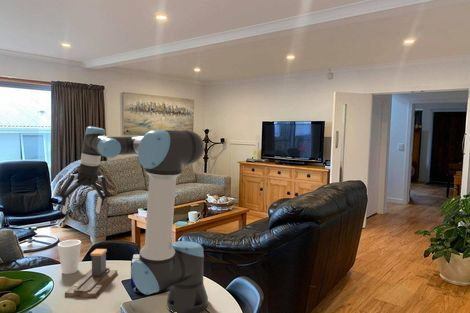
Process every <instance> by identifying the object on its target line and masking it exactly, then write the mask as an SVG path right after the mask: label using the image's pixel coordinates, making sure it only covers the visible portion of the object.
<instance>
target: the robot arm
mask: <svg viewBox="0 0 470 313" xmlns="http://www.w3.org/2000/svg"><path fill="white" fill-rule="evenodd" d="M83 136H84V138H83V144H82V150H81V155H80V163H79V167H78V172H77V174H73V173H69V176H68V178H67V180H66V181H65V182H64V184H63V185H62V187H60V189H59V191H58V192H57V195H58V197H60V198H61V202H60V203H61V206H62V210H61V211H62V212H61V213H62V214H63V215H66V214H67V210H68V203H69V198H68V197H70V195H71V194H73V193H74V192H75V191H76V190H77V189H78V188H80V187H81V186H82V187H91V186H92V187H93V188H94V190H95V191H96V193H97V195H99V196H98V197H97V200H96V201H97V202H96V207H95V213H96V214H100V211H101V207H102V206H103V205H104V200H105V199H106V198H109V197H110V194H109V191H108V188H107V186H106V181H105V180H106V177H105V176H104V175H102V174H101V175H98V174H99V170H100V166H99V165H100V164H101V159H102V158H101V157H105V158H109V159H111V158H112V159H113V158H115V157H117V156H125V155H137V156H138V157H137V158H138V159H139V160H138V161H139V164H140V165H141V166H142V167H143V168H144V172H145V174H147V176H148V177H149V179H148V190H147V191H148V192H147V208H146V223H145V236H144V237H145V238H144V240H145V241H144V245H143V247H142V248H140V250H139V254H140V255H139V260H135V261H134V262H133V263H132V266H131V265H130V275H131V274H132V278H133V281H134V283H135V285H136V286H135V287H136V288H137V289H138V291H139V292H141V293H142V294H144V295H151V294H154V293H159V292H160V291H163V290H165V289H167V288H169V287H170V289H169V292H168V294H167V298H166V307H167V306H168V308H169V309H170V310H172V311H173V312H177V313H197V312H199V313H201V312H202V310H203V311H204V310H206V308H207V307H208V305H209V298H208V294H207V291H206V287H205V284H204V266H205V264H204V262H205V260H204V259H205V255H204V246H202V244H200V243H198V242H195V241H189V240H179V241H175V242H173V243H172V241H173V240H172V238H173V229H174V228H173V226H174V214H175V212H174V211H175V202H176V201H175V199H176V191H177V190H176V188H177V178H178V177H179V176H181V175H182V172H183V166H187V165H193V164H195V163H197V162H198V161H200V159H201V158H202V157H203V155H204V151H205V143H204V141H203V138H202V137H201V136H200V135H199V134H198V133H197V132H195V131H191V130H186V129H184V130H180V129H179V130H178V129H177V130H174V129H157V130H156V129H155V130H149V131H148V132H146V133H145V134H144V135H143V136H140V135H139V136H138V135H137V136H134V135H133V136H131V135H130V136H107V135H106V130H105V129H104V128H101V127H97V126H87V127H86V128H85V134H84V135H83ZM76 179H77V180H76ZM75 180H76V181H75ZM74 181H75V182H74ZM97 181H99V183H100V185H101V186H100V187H101V189H102V191H101V189H100V188H99V186H98V184H97V183H96V182H97ZM73 182H74V184H73ZM72 184H73V185H72ZM168 308H167V309H168ZM200 311H201V312H200Z"/></svg>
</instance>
